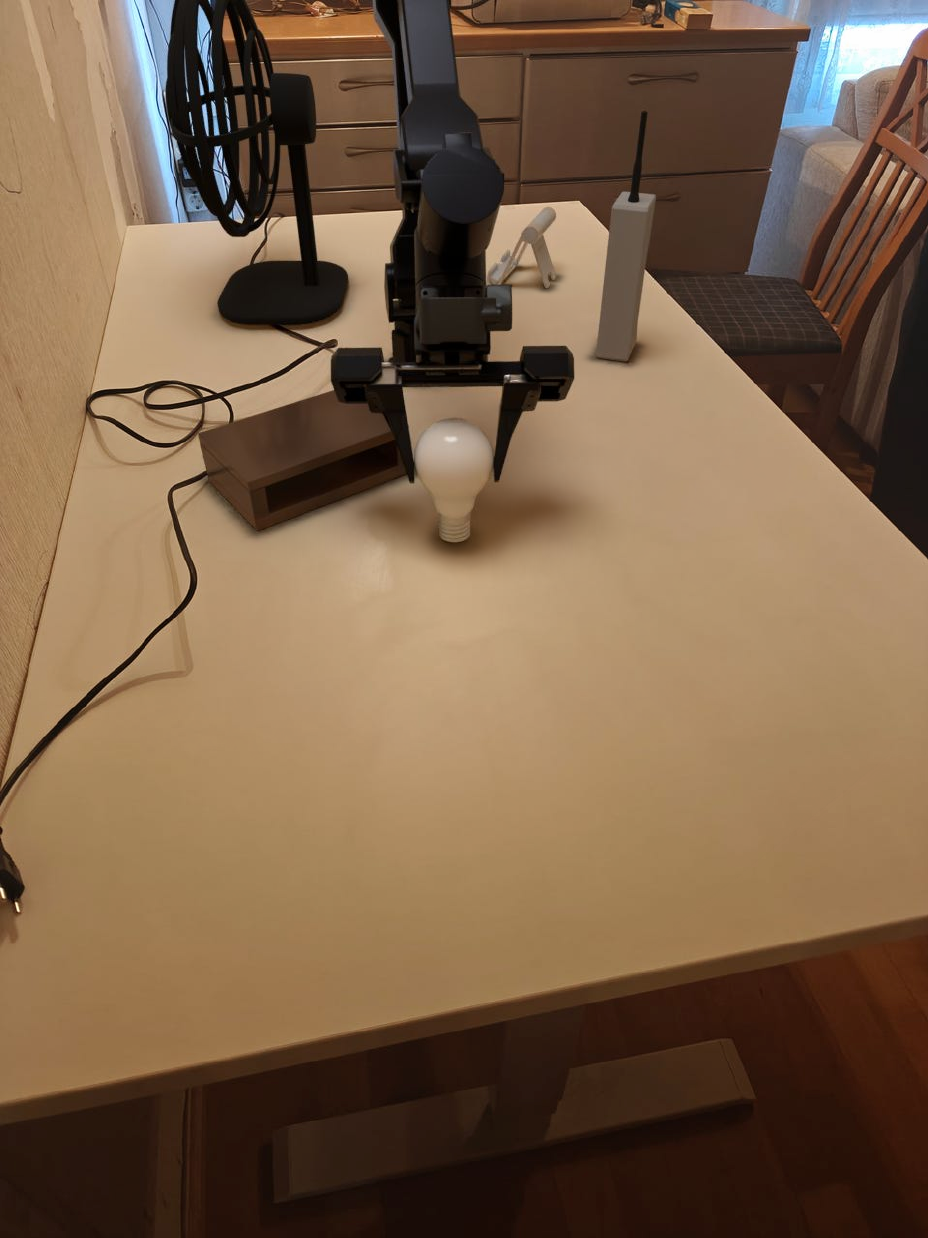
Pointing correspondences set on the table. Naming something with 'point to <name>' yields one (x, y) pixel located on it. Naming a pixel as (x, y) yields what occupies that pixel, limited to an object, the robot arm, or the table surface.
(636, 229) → the vintage mobile phone
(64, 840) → the table surface
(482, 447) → the lightbulb
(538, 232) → the tablet stand
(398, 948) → the table surface
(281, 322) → the desk fan
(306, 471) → the shelf
